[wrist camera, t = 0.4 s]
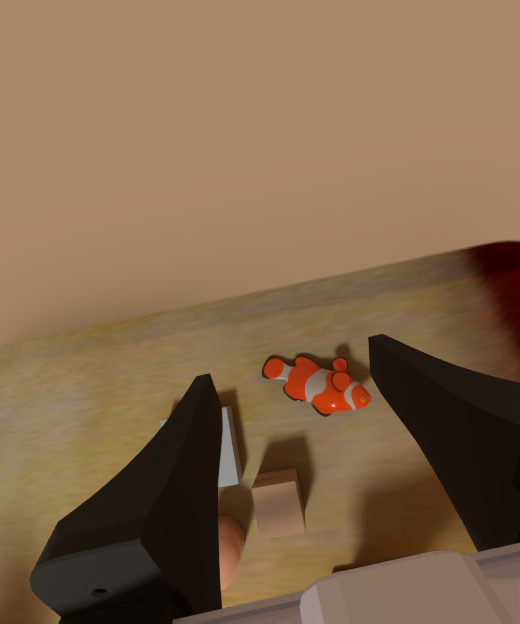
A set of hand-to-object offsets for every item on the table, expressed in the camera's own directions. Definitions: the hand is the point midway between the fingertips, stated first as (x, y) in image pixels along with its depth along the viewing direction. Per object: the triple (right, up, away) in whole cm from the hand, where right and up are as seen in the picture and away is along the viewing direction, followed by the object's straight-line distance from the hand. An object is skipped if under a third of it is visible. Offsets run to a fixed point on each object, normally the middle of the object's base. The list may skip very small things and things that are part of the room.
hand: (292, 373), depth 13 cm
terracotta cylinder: (-6, -26, +23) cm, 35 cm away
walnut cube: (+1, -20, +23) cm, 31 cm away
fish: (+7, -7, +26) cm, 28 cm away
